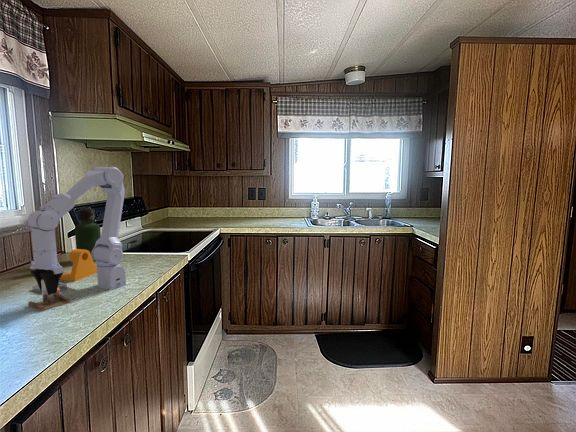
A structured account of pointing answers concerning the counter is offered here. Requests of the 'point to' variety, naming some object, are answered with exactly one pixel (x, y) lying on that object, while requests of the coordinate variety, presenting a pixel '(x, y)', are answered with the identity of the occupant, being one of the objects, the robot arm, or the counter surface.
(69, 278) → the bracket
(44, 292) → the steel round bar
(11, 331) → the counter surface
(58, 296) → the brown piece
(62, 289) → the socket block
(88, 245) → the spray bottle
